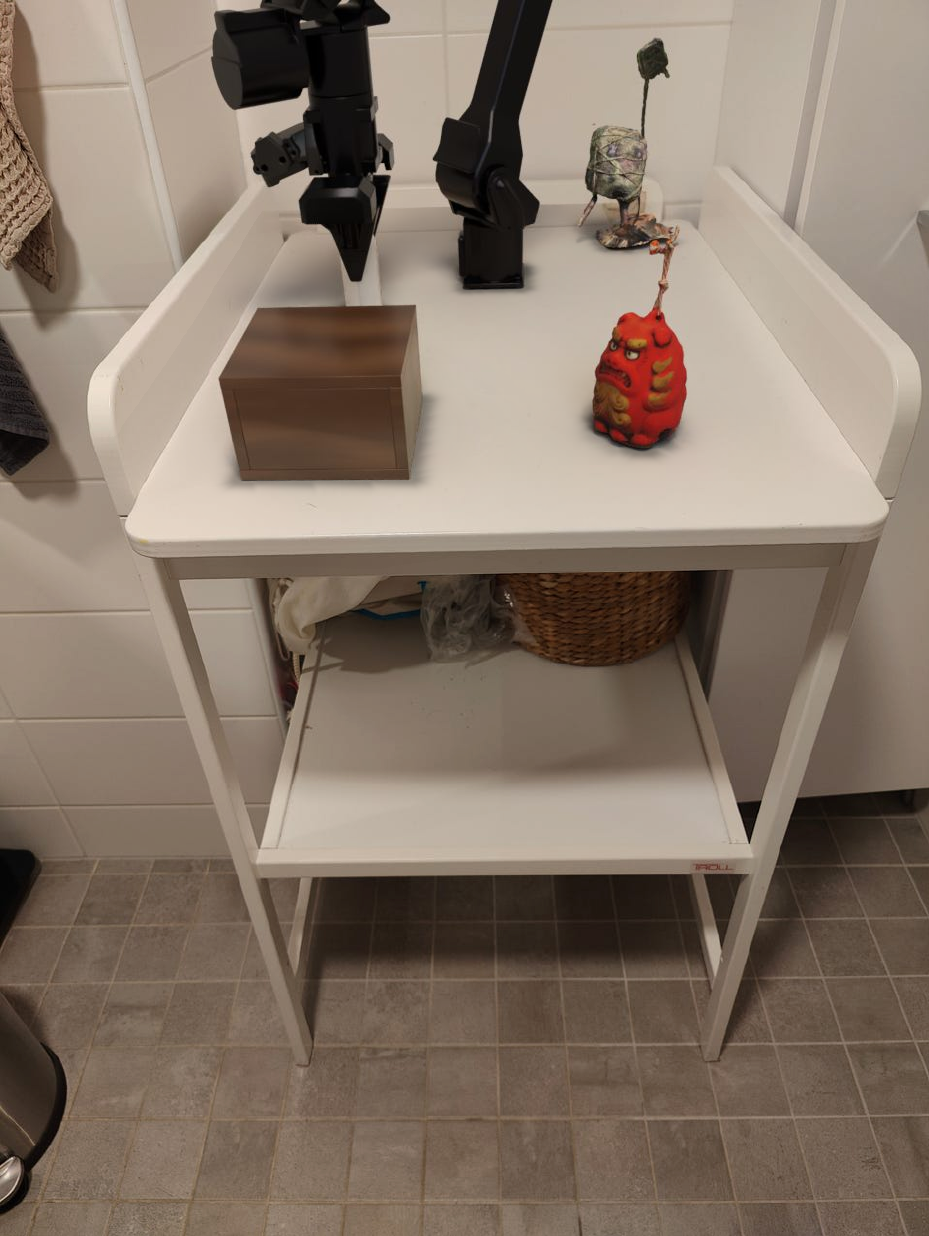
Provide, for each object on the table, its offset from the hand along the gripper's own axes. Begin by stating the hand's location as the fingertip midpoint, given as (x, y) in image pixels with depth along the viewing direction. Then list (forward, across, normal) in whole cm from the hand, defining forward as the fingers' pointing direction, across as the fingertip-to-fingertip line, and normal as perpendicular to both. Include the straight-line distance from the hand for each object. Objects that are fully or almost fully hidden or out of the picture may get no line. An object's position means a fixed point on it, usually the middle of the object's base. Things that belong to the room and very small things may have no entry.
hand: (360, 269), depth 90 cm
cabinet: (+4, +26, +1) cm, 26 cm away
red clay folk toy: (+4, +24, +25) cm, 35 cm away
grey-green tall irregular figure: (+5, -22, +28) cm, 36 cm away
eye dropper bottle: (+5, 0, 0) cm, 5 cm away
